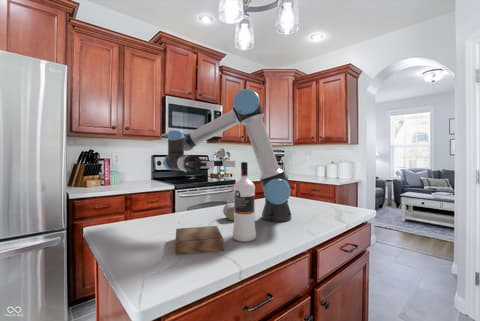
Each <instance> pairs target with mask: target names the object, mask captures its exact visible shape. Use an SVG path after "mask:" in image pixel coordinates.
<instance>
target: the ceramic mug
mask: <svg viewBox="0 0 480 321" xmlns="http://www.w3.org/2000/svg"><path fill="white" fill-rule="evenodd" d="M222 212H223V215H224V216H225V218H226V219H227V220H229V221H233V222H234V202H228V203H226V204H225V205H224V206H223V209H222Z"/></svg>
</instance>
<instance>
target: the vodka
mask: <svg viewBox="0 0 480 321" xmlns="http://www.w3.org/2000/svg"><path fill="white" fill-rule="evenodd" d="M248 166H249V165H248V162H246V161H242V162H240V179H239V180H238V181H237V182H235V183H234V185H233V204H234V221H233V231H232V238H233V239H234V240H235V241H237V242H240V243H241V242H242V243H249V242H252V241H254V240H255V239H256V238H257V231H256V221H255V220H256V219H255V218H256V217H255V216H256V213H255V212H256V211H255V205H256V204H255V195H256V193H255V192H256V191H255V190H256V186H255V184H254V182H253V181H251V180H250V179H249V177H248V176H249V175H248V169H249V168H248Z"/></svg>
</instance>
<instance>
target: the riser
mask: <svg viewBox="0 0 480 321" xmlns="http://www.w3.org/2000/svg"><path fill="white" fill-rule="evenodd" d="M224 239H225V238H224V237H223V235H222V233H221V231H220V229H219V227H218V226H217V225H209V226H208V225H207V226H197V227H183V228H182V227H181V228H180V227H179V228H176V229H175V239H174V240H175V243H174V244H175V247H174V248H175V252H174V253H175V254H174V255H175V256H178V255H180V254H181V255H188V254H189V255H190V254H199V253H200V254H201V253H209V252H210V253H211V252H220V251H224V247H225V246H224V243H225V242H224Z"/></svg>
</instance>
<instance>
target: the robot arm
mask: <svg viewBox="0 0 480 321" xmlns="http://www.w3.org/2000/svg"><path fill="white" fill-rule="evenodd" d="M264 117H265V112H264V110H263V107H262V104H261V99H260V97H259V94H258V93H257V92H255V91H254V90H253V89H251V88H243V89H240V90H239V91H237V93H236V94H235V96H234V98H233V106H232V108H231V110H230V111H228V112H226V113H224V114H222V115H220V116H219V117H217V118H215V119H213V120H211V121H210V122H208V123H206V124H204V125H202V126H200V127H198V128H196V129H195V130H193V131H191V132H189V133H187V134H185V132H184V131H183V130H177V129H176V130H175V129H174V130H169V131H168V132H167V155H166V156H165V157H164V159H163V161H162V164H163V165H164V166H163V167H164V168H165V169H167V170H168V171H169V170H170V171H176V172H179V171H182V172H184V173H187V172H193V173H194V172H197V171H199V170H201V169H202V168H203V169H215V167H224V168H226V167H227V168H236V160H225V158H223V160H210V159H203V158H200V157H199V156H198V155H196V154H185V152H187V151H188V152H189V151H192V150H193V149H194V148H195V147H196V146H199V144H202V143H204V142H205V141H208V140H209V139H211V138H213V137H215V136H217V135H219V134H221V133H223V132H224V131H227V130H229V129H231V128H233V127H235V126H236V125H243V126H244V127H245V129H246V132H247V136H248V138H249V141H250V144H251V146H252V150H253V153H254V156H255V159H256V161H257V162H256V163H257V164H258V167H259V170H260V173H261V175H260V177H259V180H260V183H261V187H262V190H263V196H264V197H265V198H264V199H265V202H264V206H263V208H262V212H261V219H263V220H265V221H267V222H269V221H270V222H274V223H275V222H280V223H281V222H287V221H290V220H292V212H291V210H290V206H289V198H290V196H291V192H292V191H291V190H292V189H291V186H290V184H289V176H288V174H287V173H285V171H284V170H283V169H281V168H280V166H279V163H278V161H277V157H276V155H275V152H274V149H273V145H272V143H271V140H270V137H269V135H268V131H267V129H266V126H265V123H264Z"/></svg>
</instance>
